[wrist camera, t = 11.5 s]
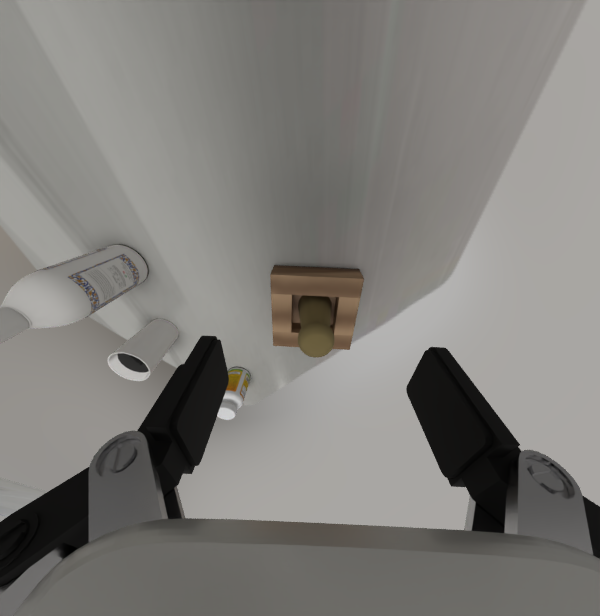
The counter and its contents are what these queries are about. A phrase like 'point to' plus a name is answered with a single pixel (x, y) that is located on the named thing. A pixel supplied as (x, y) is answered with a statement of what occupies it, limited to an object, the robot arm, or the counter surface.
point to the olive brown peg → (315, 325)
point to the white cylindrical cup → (144, 350)
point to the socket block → (314, 282)
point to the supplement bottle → (234, 393)
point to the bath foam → (70, 290)
